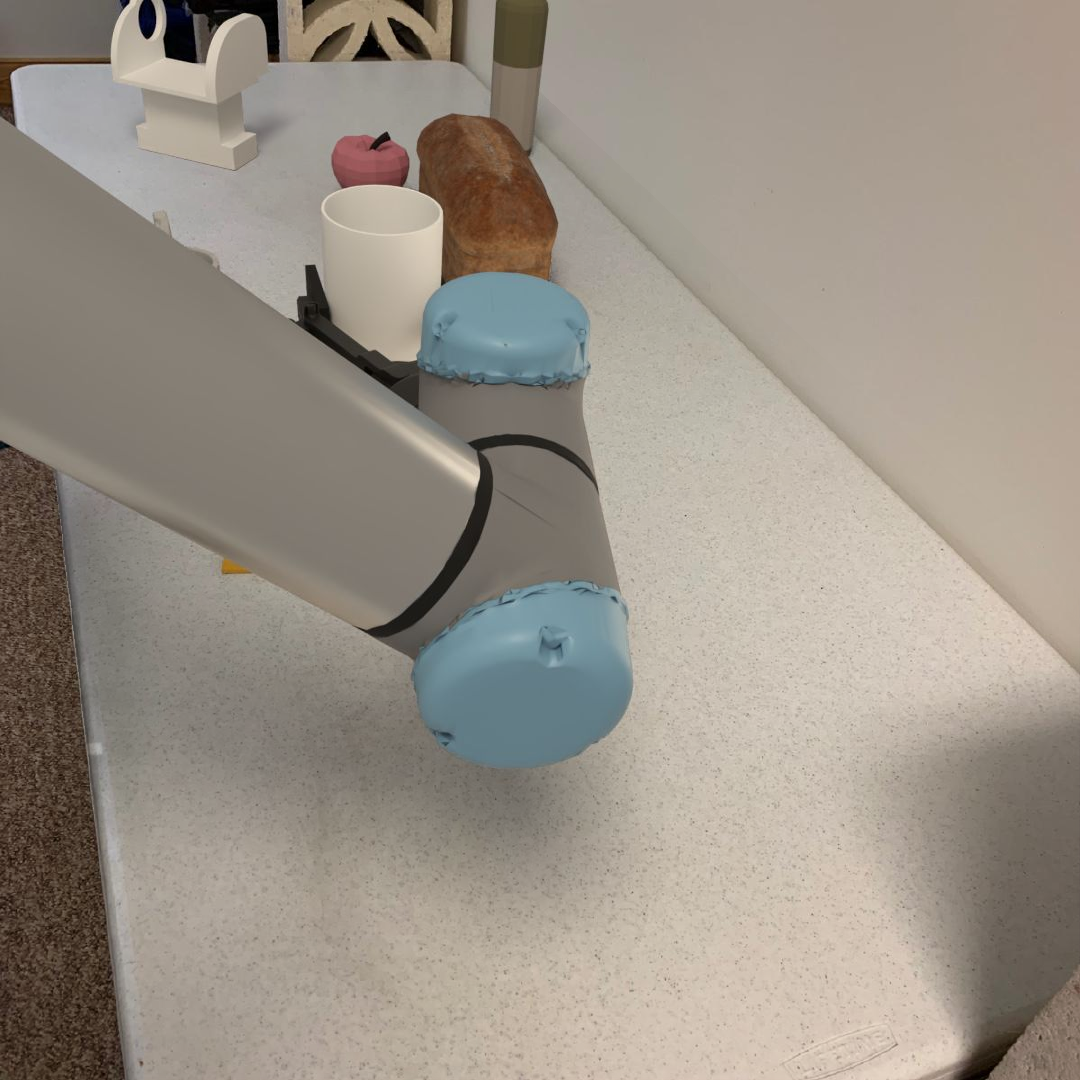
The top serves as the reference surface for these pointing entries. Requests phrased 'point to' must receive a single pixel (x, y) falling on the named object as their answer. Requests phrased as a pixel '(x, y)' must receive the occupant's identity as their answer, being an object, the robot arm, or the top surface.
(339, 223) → the cup
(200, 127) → the white holder stand
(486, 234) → the bread
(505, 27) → the bottle
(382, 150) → the apple
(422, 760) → the top surface
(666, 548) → the top surface
